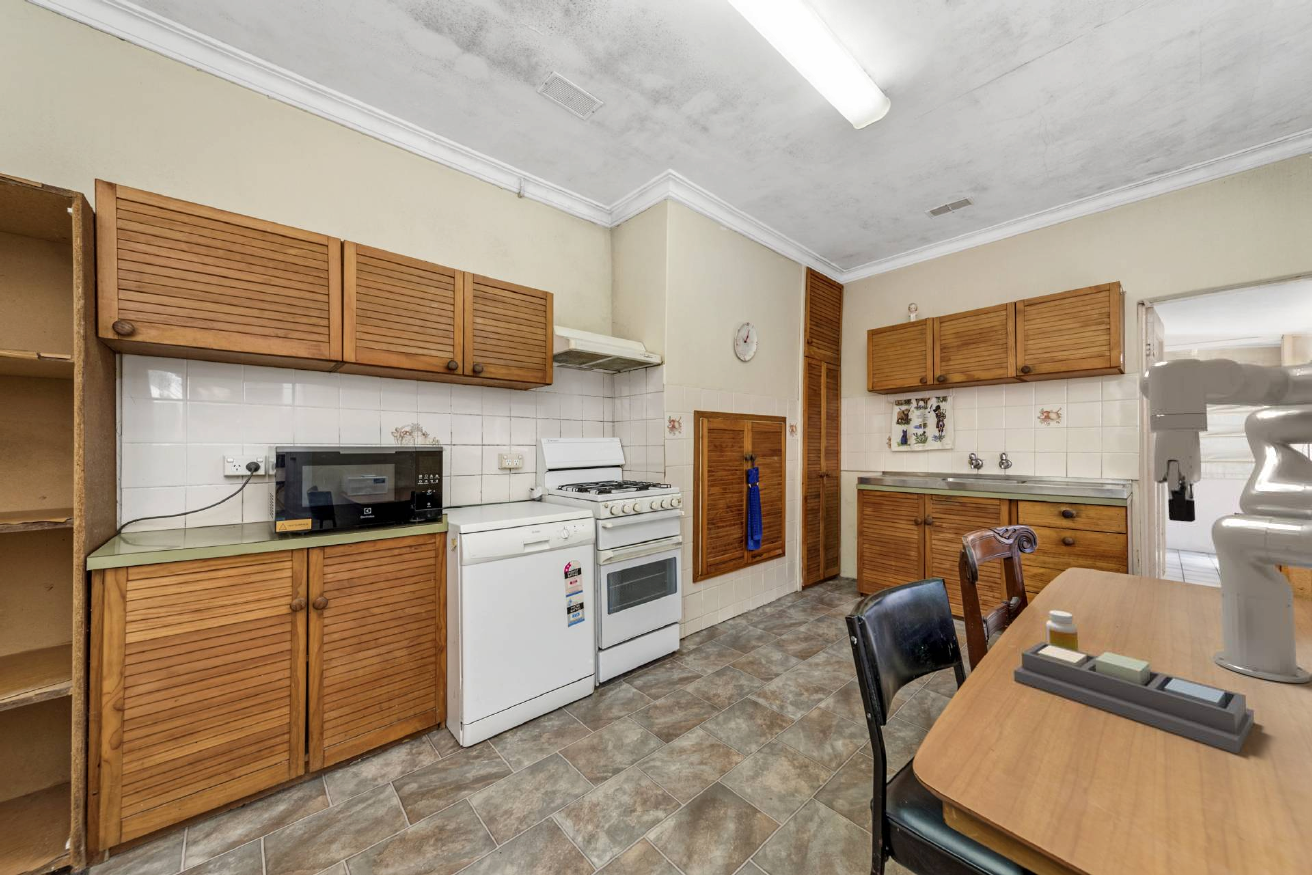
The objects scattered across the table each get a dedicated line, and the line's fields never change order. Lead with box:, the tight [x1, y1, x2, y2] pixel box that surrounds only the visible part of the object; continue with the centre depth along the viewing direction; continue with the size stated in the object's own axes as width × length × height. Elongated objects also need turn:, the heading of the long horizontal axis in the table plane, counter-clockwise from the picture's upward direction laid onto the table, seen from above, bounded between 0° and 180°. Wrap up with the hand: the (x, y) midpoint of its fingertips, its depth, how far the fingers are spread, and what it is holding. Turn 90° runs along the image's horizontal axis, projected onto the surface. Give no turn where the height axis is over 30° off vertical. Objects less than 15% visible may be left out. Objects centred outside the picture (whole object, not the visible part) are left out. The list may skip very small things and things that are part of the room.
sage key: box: [1095, 651, 1151, 686], centre depth 90 cm, size 6×6×3 cm
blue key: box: [1164, 678, 1226, 709], centre depth 83 cm, size 6×6×3 cm
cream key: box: [1038, 645, 1087, 668], centre depth 98 cm, size 6×6×3 cm
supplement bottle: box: [1045, 610, 1079, 651], centre depth 108 cm, size 5×5×10 cm
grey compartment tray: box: [1013, 641, 1255, 755], centre depth 90 cm, size 15×29×5 cm, turn 33°
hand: (1182, 520), depth 94 cm, fingers closed
